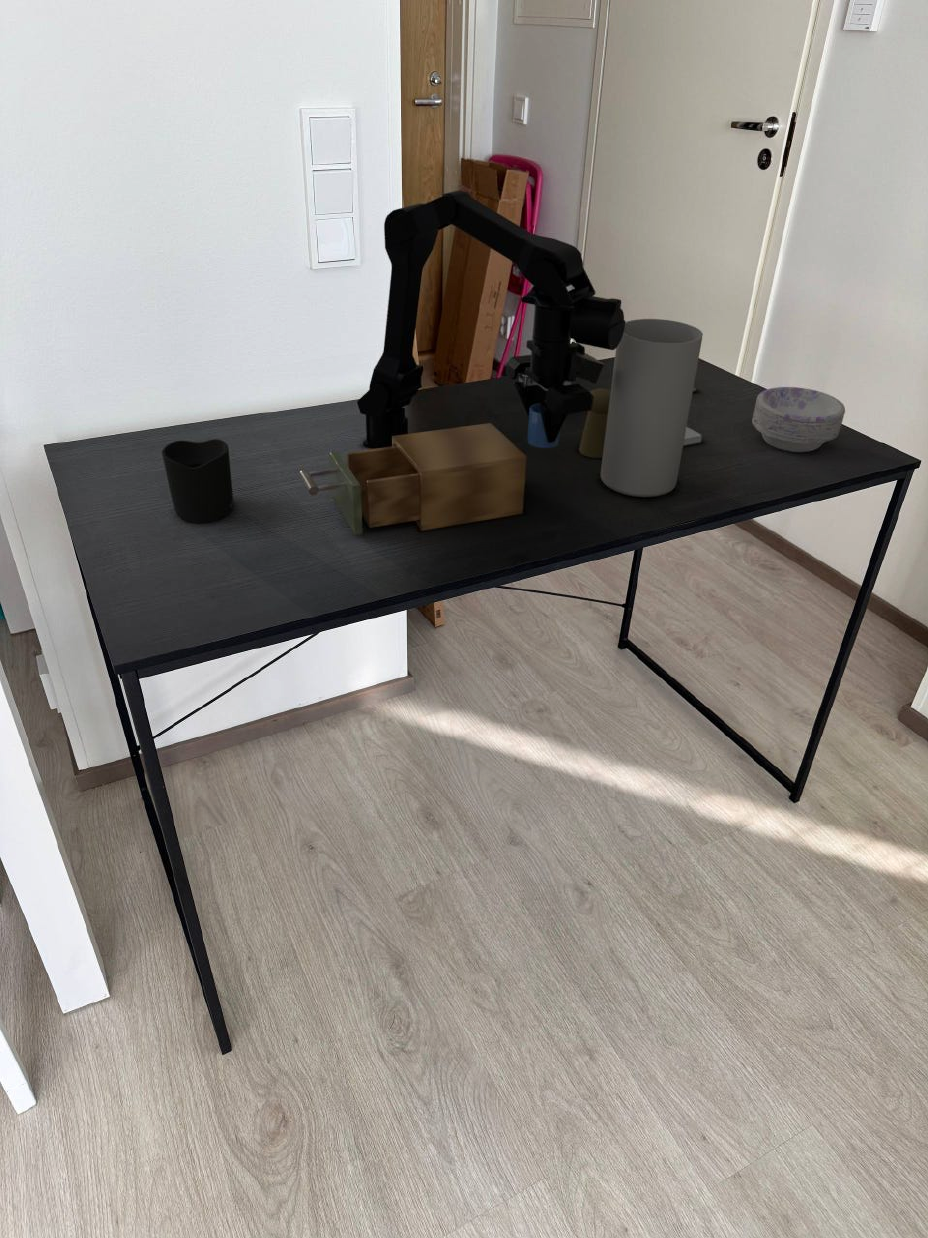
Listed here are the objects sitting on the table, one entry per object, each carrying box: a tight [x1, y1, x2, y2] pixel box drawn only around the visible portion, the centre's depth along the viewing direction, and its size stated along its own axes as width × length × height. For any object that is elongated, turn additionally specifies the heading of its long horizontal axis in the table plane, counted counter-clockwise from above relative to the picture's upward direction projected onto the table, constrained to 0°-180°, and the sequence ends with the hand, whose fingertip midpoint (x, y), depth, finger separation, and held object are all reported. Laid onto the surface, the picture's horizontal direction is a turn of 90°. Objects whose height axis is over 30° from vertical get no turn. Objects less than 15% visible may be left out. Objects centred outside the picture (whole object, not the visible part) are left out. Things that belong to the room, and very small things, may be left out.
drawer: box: [298, 446, 420, 536], centre depth 134 cm, size 21×12×8 cm, turn 112°
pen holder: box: [161, 438, 234, 524], centre depth 134 cm, size 9×9×10 cm
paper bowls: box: [751, 386, 846, 453], centre depth 162 cm, size 15×15×8 cm
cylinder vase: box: [600, 318, 704, 498], centre depth 142 cm, size 12×12×25 cm
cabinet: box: [392, 422, 527, 532], centre depth 139 cm, size 17×14×10 cm
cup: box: [527, 403, 561, 449], centre depth 141 cm, size 5×5×6 cm
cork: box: [578, 388, 611, 459], centre depth 156 cm, size 6×6×11 cm
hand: (543, 435), depth 142 cm, fingers closed on cup, 5 cm apart
